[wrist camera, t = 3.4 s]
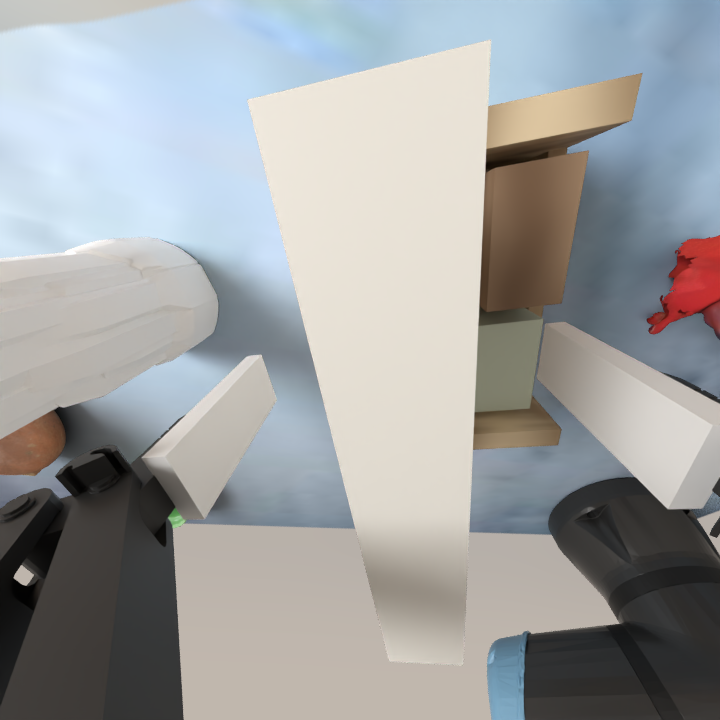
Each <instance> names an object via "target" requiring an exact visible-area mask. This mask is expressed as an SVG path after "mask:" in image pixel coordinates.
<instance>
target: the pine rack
mask: <svg viewBox="0 0 720 720" xmlns="http://www.w3.org/2000/svg"><path fill="white" fill-rule="evenodd" d="M641 77H642V73H640V74H636V75H631V76H626V77H622V78H617V79H613V80H608V81H603V82H599V83H594V84H589V85H585V86H580V87H575V88H571V89H566V90H562V91H557V92H552V93H548V94H543V95H538V96H534V97H529V98H524V99H520V100H515V101H510V102H506V103H501V104H497V105H492V106H488V121H487V143H486V165H485V173H486V172H488V171H490V170H492V169H494V168H497V167H502V166H508V165H513V164H519V163H524V162H529V161H535V160H540V159H546V158H551V157H556V156H562V155H566V154H567V148H568V147H570V146H572V145H575V144H577V143H579V142H582V141H584V140H586V139H589V138H591V137H594V136H596V135H598V134H601V133H603V132H605V131H608V130H610V129H612V128H615V127H617V126H620V125H622V124H624V123H627V122H629V121H631V120H632V117H633V112H634V108H635V103H636V99H637V95H638V90H639V86H640V81H641ZM543 306H544V305H543ZM543 306H535V307H526V309H528V310H529V311H531V312H533V313H534V314H536V315H538V316H540V317H541V318H542V313H543ZM561 430H562V429H561V428H560V427H559V425H558V424H557V423H556V422H555V421H554V420H553V419H552V417H551V416H550V415H549V414H548V413H547V412H546V411H545V410H544V408H543V407H542V406H541V405H540V404H539V403H538V402H537V400H536V399H535V398H534V397H533V396H532V398H531V404H530V409H515V410H501V411H486V412H474V434H473V450H474V449H494V448H513V447H532V446H552V445H558V443H559V439H560V434H561Z"/></svg>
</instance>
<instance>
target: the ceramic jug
mask: <svg viewBox="0 0 720 720" xmlns="http://www.w3.org/2000/svg"><path fill="white" fill-rule="evenodd" d="M65 440H66V434H65V429H64V426H63V424H62V422H61V420H60V418H59V416H58V415H57V413H56V412H55V411H54V410H52V411H50V412H48V413H47V414H45V415H43V416H41V417H39V418H38V419H36V420H34V421H32V422H30V423H29V424H27V425H25V426H23V427H22V428H20V429H18V430H16V431H14V432H13V433H11V434H9V435H7V436H5V437H4V438H2V439H0V475H30V476H35V475H37V474H38V473H39V472H40V471H41V470H42V469H43V468H45V467H47V466H49V465H50V464H51V463H53V462H54V461H55V460H56V459H57V458H58V456H59V455H60V454H61V452H62V451H63V449H64V446H65Z"/></svg>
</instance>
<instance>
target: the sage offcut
mask: <svg viewBox="0 0 720 720" xmlns="http://www.w3.org/2000/svg"><path fill="white" fill-rule="evenodd" d="M543 320H544V319H543V318H541V317H540V316H538V315H536V314H534V313H533V312H531V311H529V310H528V309H526V308H518V309H509V310H501V311H492V312H486V311H485V310H484V309H482V308H481V307H480V306H479V322H478V345H477V367H476V389H475V412H486V411H501V410H515V409H530V404H531V398H532V391H533V385H534V378H535V372H536V365H537V359H538V352H539V346H540V339H541V333H542V326H543Z"/></svg>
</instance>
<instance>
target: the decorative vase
mask: <svg viewBox="0 0 720 720" xmlns="http://www.w3.org/2000/svg"><path fill="white" fill-rule="evenodd" d="M217 297H218V296H217V294H216V292H215V290H214V288H213V287H212V285H211V283H210V281H209V279H208V277H207V275H206V273H205V272H204V270H203V268H202V266H201V265H199V264H198V262H197V261H196V260H195V259H194V258H193V257H191V256H190V255H189V254H187V253H186V252H185V251H183V250H182V249H180V248H178V247H176V246H174V245H172V244H169V243H167V242H165V241H162V240H160V239H152V238H150V237H139V238H118V239H108V240H100V241H94V242H91V243H88V244H85V245H81V246H78V247H75V248H72V249H69V250H66V252H63V253H53V254H42V255H32V256H21V257H10V258H0V439H2V438H4V437H5V436H7V435H9V434H11V433H13V432H14V431H16V430H18V429H20V428H22V427H23V426H25V425H27V424H29V423H30V422H32V421H34V420H36V419H38V418H39V417H41V416H43V415H45V414H47V413H48V412H50V411H52V410H54V409H56V408H57V407H63V408H64V407H68V406H71V405H75V404H78V403H82V402H85V401H88V400H92V399H95V398H100V397H103V396H105V395H107V394H108V393H110V392H112V391H113V390H115V389H117V388H118V387H120V386H121V385H123V384H125V383H126V382H128V381H130V380H131V379H133V378H134V377H136V376H138V375H139V374H141V373H143V372H144V371H146V370H148V369H149V368H151V367H152V366H154V365H160V364H163V363H166V362H169V361H172V360H174V359H176V358H177V357H179V356H180V355H182V354H183V353H185V352H187V351H188V350H190V349H191V348H193V347H194V346H196V345H197V344H199V343H200V342H202V341H203V340H205V339H206V338H207V337H209V336H210V335H211V334H212V333H213V332H214V331H215V327H216V324H217V318H218V309H219V301H218V300H217Z"/></svg>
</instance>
